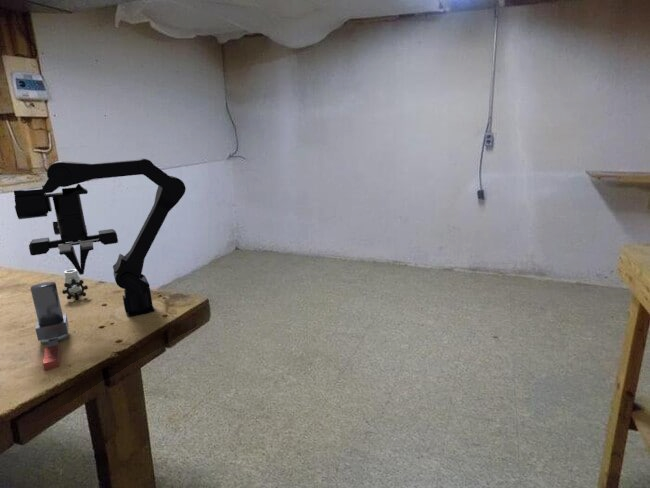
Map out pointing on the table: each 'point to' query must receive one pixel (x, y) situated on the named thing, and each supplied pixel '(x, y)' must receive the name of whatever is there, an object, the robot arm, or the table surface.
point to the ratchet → (52, 352)
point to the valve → (73, 284)
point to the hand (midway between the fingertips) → (81, 274)
